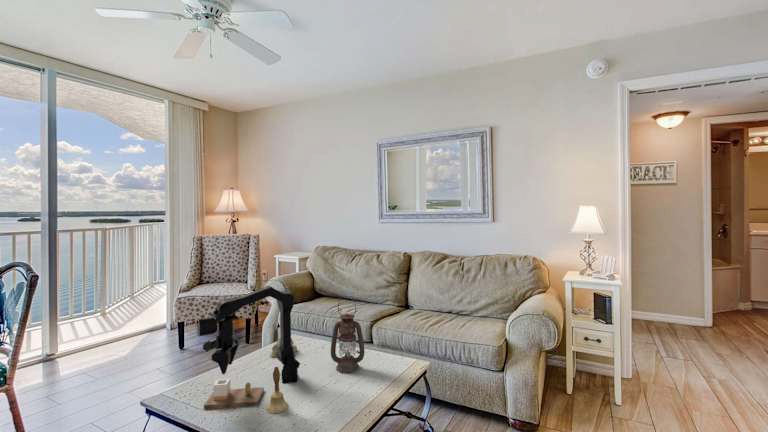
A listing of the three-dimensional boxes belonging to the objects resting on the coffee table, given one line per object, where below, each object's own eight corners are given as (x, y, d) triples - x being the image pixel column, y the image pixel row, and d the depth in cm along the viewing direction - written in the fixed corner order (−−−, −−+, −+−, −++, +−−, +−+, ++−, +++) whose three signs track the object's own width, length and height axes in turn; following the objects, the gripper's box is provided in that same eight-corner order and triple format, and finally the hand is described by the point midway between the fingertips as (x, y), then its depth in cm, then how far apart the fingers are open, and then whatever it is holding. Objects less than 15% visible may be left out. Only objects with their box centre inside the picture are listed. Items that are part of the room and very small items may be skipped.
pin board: (263, 390, 156) (263, 375, 156) (257, 405, 144) (257, 389, 144) (214, 393, 154) (214, 378, 154) (203, 409, 142) (203, 392, 142)
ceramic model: (282, 360, 189) (282, 340, 189) (265, 356, 194) (265, 337, 194) (300, 351, 201) (300, 332, 201) (284, 347, 206) (284, 329, 206)
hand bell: (282, 414, 138) (281, 372, 137) (261, 412, 139) (261, 370, 139) (292, 403, 146) (291, 363, 145) (272, 401, 147) (272, 361, 147)
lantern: (363, 373, 172) (363, 298, 172) (329, 373, 172) (328, 299, 172) (365, 363, 183) (364, 293, 183) (332, 364, 183) (331, 293, 183)
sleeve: (230, 393, 151) (230, 378, 151) (226, 399, 146) (226, 384, 146) (217, 394, 151) (217, 379, 151) (213, 400, 146) (213, 385, 146)
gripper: (212, 325, 159) (213, 361, 159) (196, 340, 140) (197, 381, 140) (239, 323, 160) (240, 359, 160) (227, 338, 142) (228, 378, 142)
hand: (227, 369), depth 151 cm, fingers open, 9 cm apart
